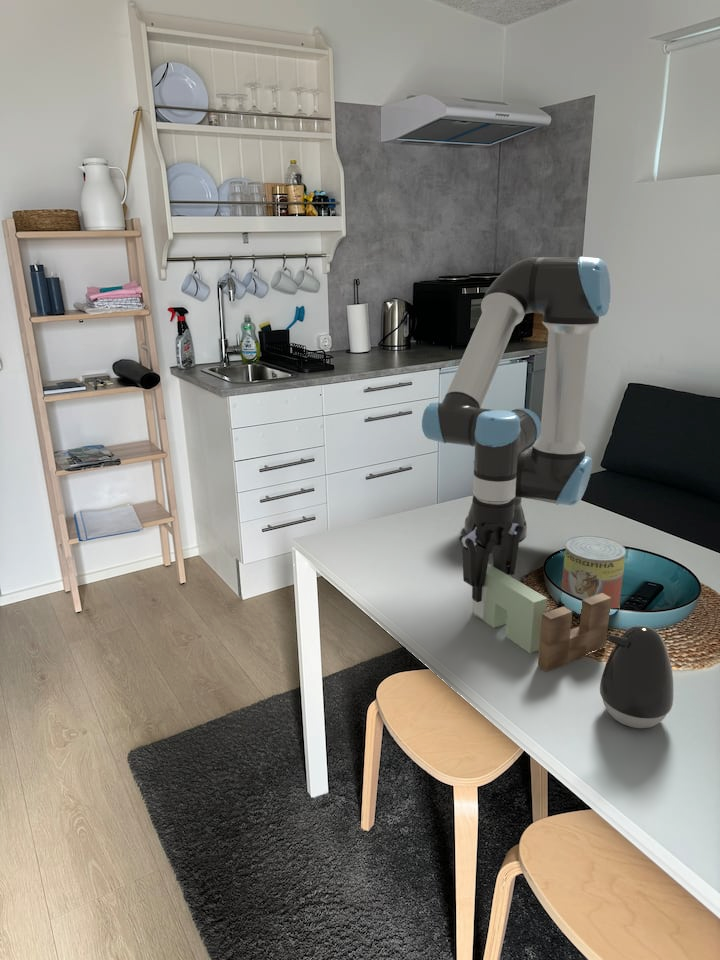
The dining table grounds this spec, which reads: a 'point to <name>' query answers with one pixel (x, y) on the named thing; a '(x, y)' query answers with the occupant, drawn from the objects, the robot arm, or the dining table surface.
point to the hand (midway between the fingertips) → (487, 611)
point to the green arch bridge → (514, 608)
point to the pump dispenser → (638, 678)
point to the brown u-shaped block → (573, 632)
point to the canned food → (594, 567)
